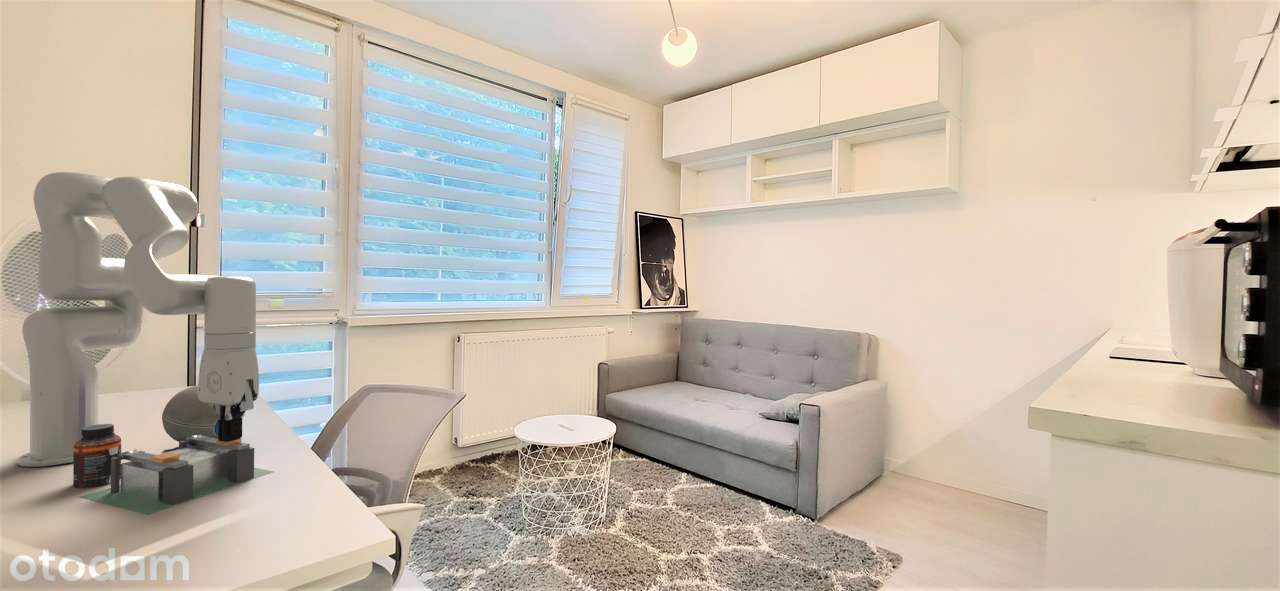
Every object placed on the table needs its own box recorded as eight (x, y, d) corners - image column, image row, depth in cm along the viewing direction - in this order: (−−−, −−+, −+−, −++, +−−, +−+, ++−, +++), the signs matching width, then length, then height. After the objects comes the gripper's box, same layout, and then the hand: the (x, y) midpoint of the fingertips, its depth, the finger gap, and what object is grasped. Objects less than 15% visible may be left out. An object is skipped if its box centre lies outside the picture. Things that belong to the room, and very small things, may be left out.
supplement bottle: (127, 485, 94) (128, 424, 93) (81, 497, 88) (82, 432, 88) (112, 479, 96) (112, 420, 96) (66, 491, 91) (67, 428, 91)
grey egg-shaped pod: (200, 442, 119) (201, 378, 119) (254, 444, 118) (255, 380, 118) (145, 461, 106) (145, 390, 106) (204, 464, 106) (205, 392, 105)
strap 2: (184, 443, 98) (184, 434, 98) (198, 439, 100) (198, 431, 100) (237, 452, 93) (237, 443, 93) (250, 448, 96) (250, 439, 96)
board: (78, 503, 86) (79, 461, 86) (211, 465, 105) (211, 430, 105) (147, 521, 80) (148, 476, 80) (274, 477, 99) (274, 440, 99)
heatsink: (120, 492, 88) (120, 463, 88) (205, 467, 100) (205, 442, 100) (158, 501, 85) (158, 471, 85) (240, 474, 97) (241, 448, 97)
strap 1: (117, 459, 89) (117, 450, 89) (134, 455, 91) (134, 446, 91) (172, 471, 84) (172, 461, 84) (189, 466, 86) (189, 456, 86)
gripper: (180, 342, 94) (180, 440, 95) (237, 346, 90) (236, 450, 90) (224, 338, 101) (224, 430, 102) (279, 342, 97) (278, 438, 97)
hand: (230, 439), depth 96 cm, fingers closed
